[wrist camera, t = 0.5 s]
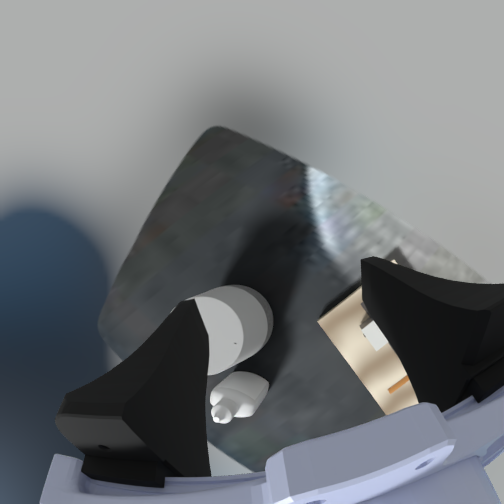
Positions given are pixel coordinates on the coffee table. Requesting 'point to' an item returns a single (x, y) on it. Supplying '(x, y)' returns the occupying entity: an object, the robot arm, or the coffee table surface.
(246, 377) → the eye dropper bottle
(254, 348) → the smart speaker
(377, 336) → the fader tab
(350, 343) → the console
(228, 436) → the coffee table surface
